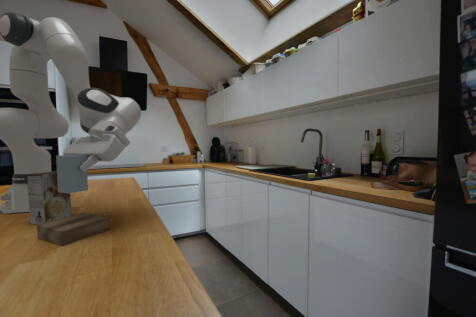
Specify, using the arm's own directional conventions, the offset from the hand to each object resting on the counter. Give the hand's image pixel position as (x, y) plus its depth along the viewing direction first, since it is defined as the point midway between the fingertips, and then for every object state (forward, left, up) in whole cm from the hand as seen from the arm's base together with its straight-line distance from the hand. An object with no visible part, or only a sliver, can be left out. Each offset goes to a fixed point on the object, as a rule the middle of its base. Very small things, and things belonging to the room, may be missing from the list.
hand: (73, 170), depth 63 cm
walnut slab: (0, 0, -18) cm, 18 cm away
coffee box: (-20, +4, -18) cm, 27 cm away
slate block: (0, 0, -6) cm, 6 cm away
